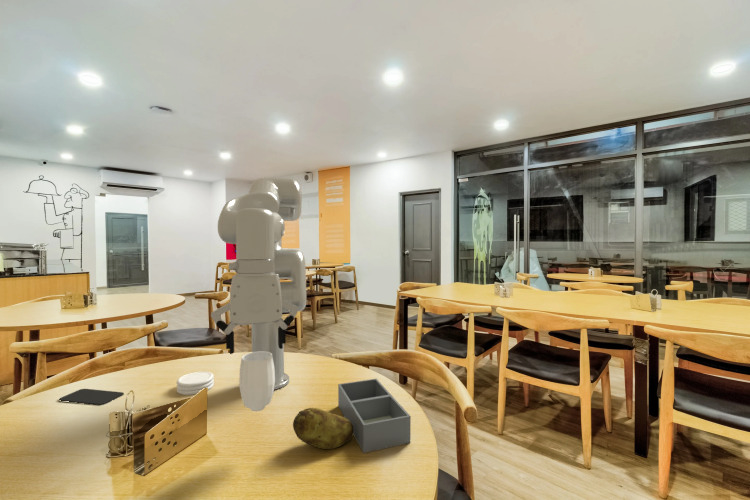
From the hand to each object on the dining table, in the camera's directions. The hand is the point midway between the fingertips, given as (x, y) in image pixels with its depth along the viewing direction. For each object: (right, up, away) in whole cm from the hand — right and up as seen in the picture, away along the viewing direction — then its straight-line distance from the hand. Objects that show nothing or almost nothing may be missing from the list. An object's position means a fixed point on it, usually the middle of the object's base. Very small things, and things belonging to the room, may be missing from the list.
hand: (256, 349), depth 74 cm
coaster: (-30, -22, +33) cm, 49 cm away
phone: (-56, -22, +27) cm, 66 cm away
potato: (+13, -22, +4) cm, 26 cm away
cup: (0, -23, +1) cm, 23 cm away
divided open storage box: (+24, -22, +13) cm, 35 cm away
